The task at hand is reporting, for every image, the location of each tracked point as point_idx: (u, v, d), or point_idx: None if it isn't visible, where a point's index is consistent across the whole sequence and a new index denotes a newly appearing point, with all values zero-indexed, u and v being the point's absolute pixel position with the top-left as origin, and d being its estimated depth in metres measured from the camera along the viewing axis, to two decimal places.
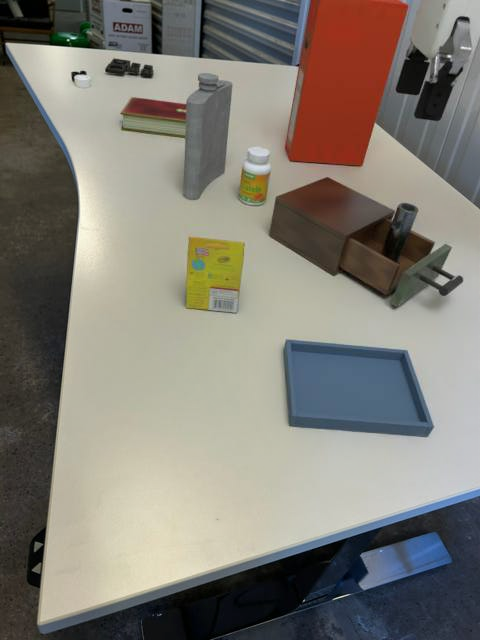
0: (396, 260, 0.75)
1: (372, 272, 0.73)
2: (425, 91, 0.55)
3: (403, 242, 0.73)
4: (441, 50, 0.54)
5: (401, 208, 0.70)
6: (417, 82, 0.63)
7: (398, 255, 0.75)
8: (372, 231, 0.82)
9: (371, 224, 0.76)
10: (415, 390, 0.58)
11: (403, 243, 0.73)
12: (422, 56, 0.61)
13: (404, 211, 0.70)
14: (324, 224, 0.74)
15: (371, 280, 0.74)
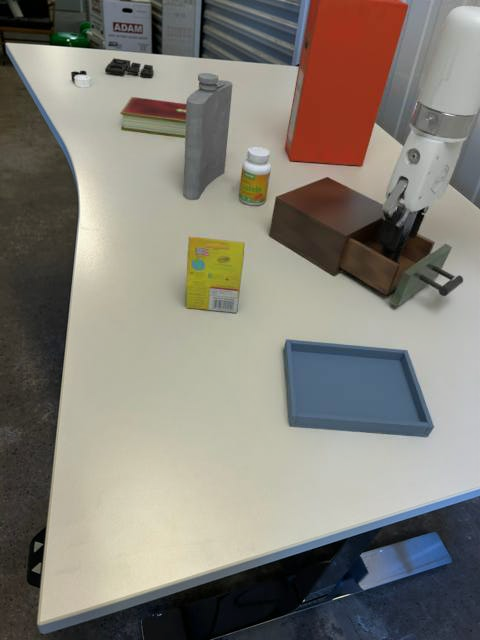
0: (396, 260, 0.75)
1: (372, 272, 0.73)
2: (383, 224, 0.71)
3: (403, 242, 0.73)
4: None
5: None
6: (412, 227, 0.74)
7: (398, 255, 0.75)
8: (372, 231, 0.82)
9: (371, 224, 0.76)
10: (415, 390, 0.58)
11: (403, 243, 0.73)
12: None
13: None
14: (324, 224, 0.74)
15: (371, 280, 0.74)
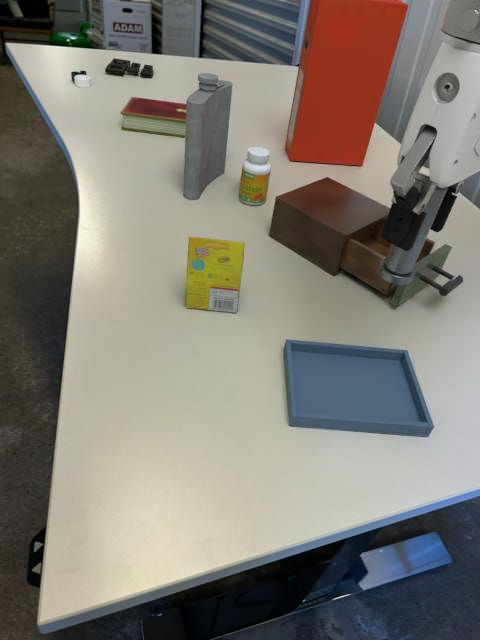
0: (411, 266, 0.49)
1: (372, 272, 0.73)
2: (392, 210, 0.44)
3: (422, 238, 0.47)
4: None
5: (420, 183, 0.44)
6: (436, 216, 0.48)
7: (414, 259, 0.48)
8: (372, 231, 0.82)
9: (371, 224, 0.76)
10: (415, 390, 0.58)
11: (422, 240, 0.47)
12: None
13: None
14: (324, 224, 0.74)
15: (371, 280, 0.74)
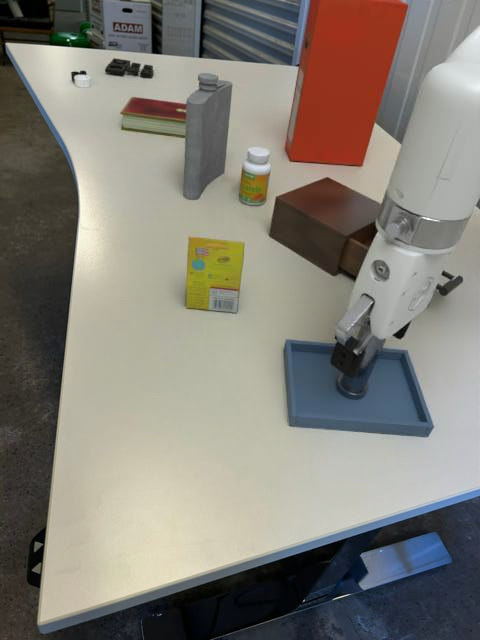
0: (363, 385, 0.57)
1: None
2: (337, 344, 0.50)
3: (371, 366, 0.54)
4: None
5: None
6: None
7: (365, 380, 0.56)
8: (372, 231, 0.82)
9: (371, 224, 0.76)
10: (415, 390, 0.58)
11: (371, 367, 0.55)
12: None
13: None
14: (324, 224, 0.74)
15: None
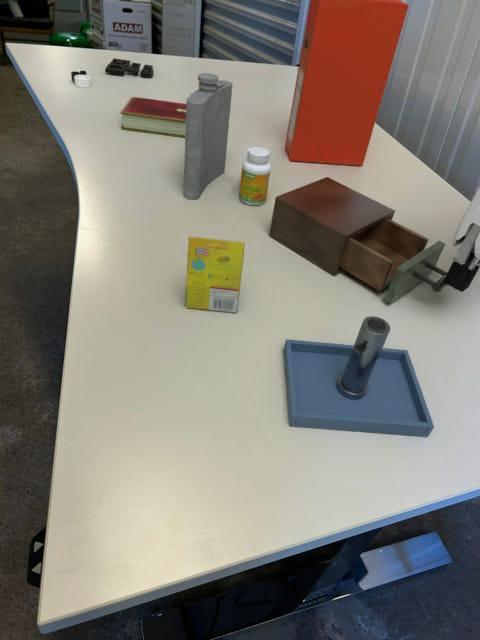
0: (363, 385, 0.57)
1: (366, 268, 0.74)
2: (453, 265, 0.68)
3: (371, 366, 0.54)
4: None
5: (366, 327, 0.52)
6: None
7: (365, 380, 0.56)
8: None
9: (371, 224, 0.76)
10: (415, 390, 0.58)
11: (371, 367, 0.55)
12: None
13: (370, 332, 0.51)
14: (324, 224, 0.74)
15: (365, 276, 0.74)
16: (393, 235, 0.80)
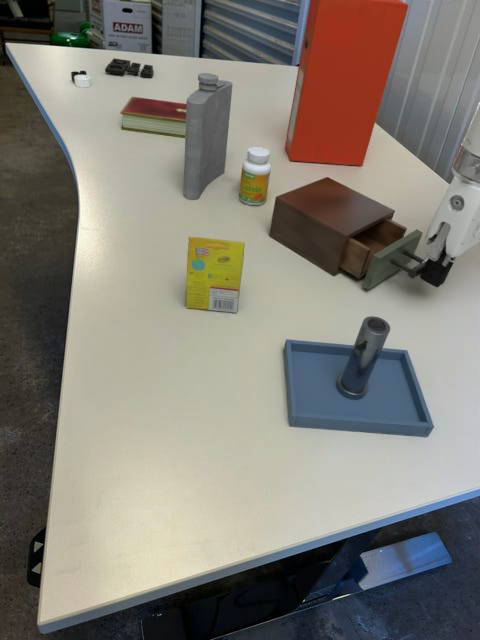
0: (363, 385, 0.57)
1: (345, 256, 0.76)
2: (428, 262, 0.71)
3: (371, 366, 0.54)
4: None
5: (366, 327, 0.52)
6: None
7: (365, 380, 0.56)
8: None
9: (371, 224, 0.76)
10: (415, 390, 0.58)
11: (371, 367, 0.55)
12: None
13: (370, 332, 0.51)
14: (324, 224, 0.74)
15: (344, 264, 0.76)
16: None
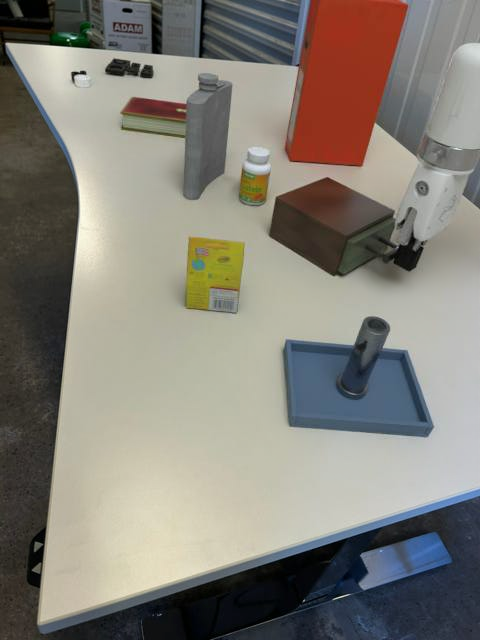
0: (363, 385, 0.57)
1: None
2: (400, 247, 0.73)
3: (371, 366, 0.54)
4: None
5: (366, 327, 0.52)
6: None
7: (365, 380, 0.56)
8: None
9: (371, 224, 0.76)
10: (415, 390, 0.58)
11: (371, 367, 0.55)
12: None
13: (370, 332, 0.51)
14: (324, 224, 0.74)
15: None
16: None
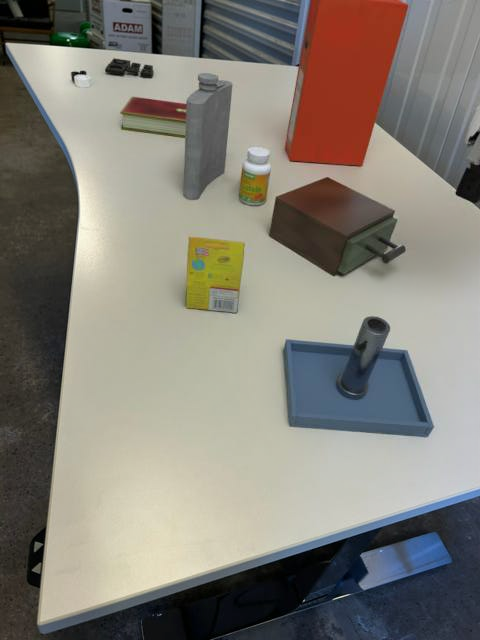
0: (363, 385, 0.57)
1: None
2: (465, 174, 0.63)
3: (371, 366, 0.54)
4: None
5: (366, 327, 0.52)
6: None
7: (365, 380, 0.56)
8: None
9: (371, 224, 0.76)
10: (415, 390, 0.58)
11: (371, 367, 0.55)
12: None
13: (370, 332, 0.51)
14: (324, 224, 0.74)
15: None
16: None
